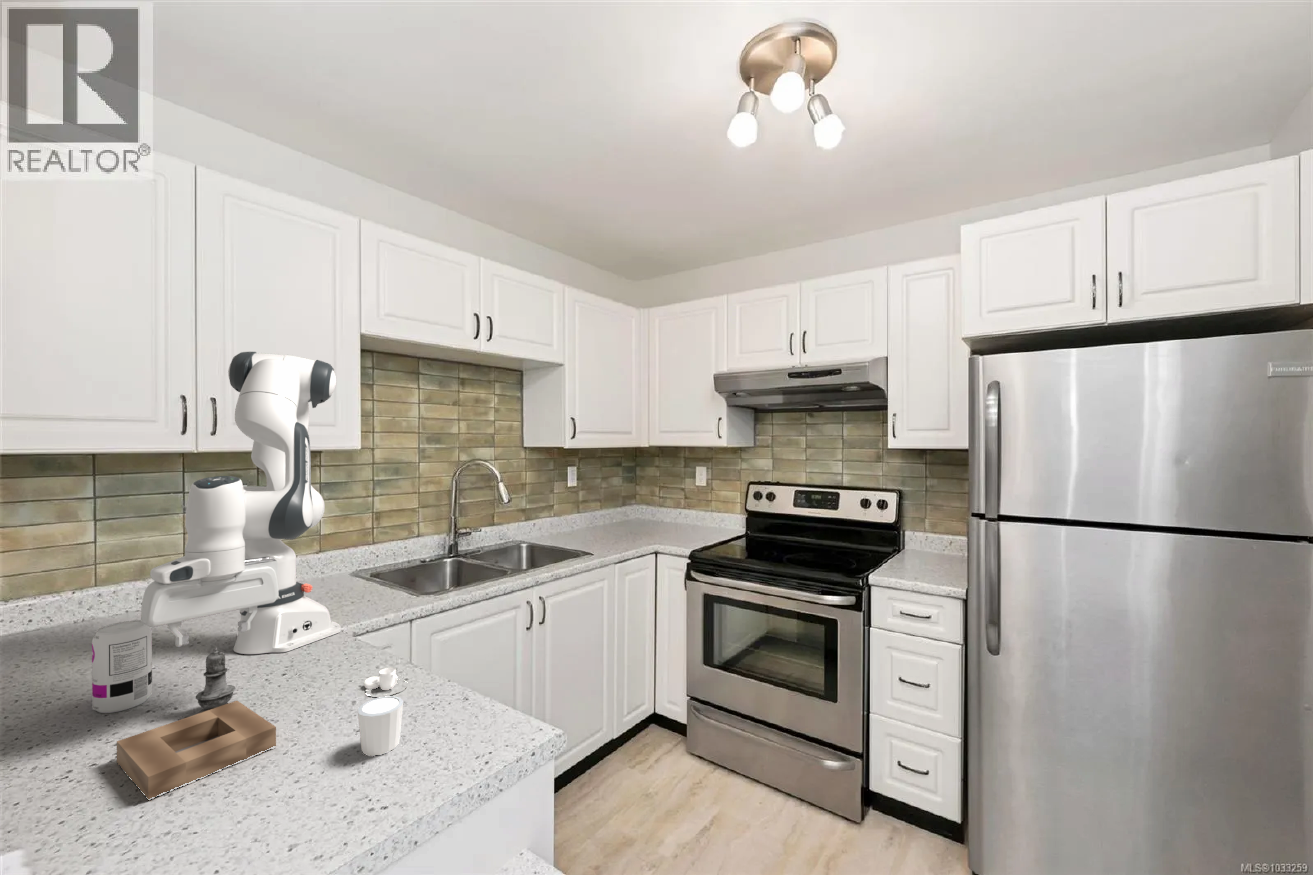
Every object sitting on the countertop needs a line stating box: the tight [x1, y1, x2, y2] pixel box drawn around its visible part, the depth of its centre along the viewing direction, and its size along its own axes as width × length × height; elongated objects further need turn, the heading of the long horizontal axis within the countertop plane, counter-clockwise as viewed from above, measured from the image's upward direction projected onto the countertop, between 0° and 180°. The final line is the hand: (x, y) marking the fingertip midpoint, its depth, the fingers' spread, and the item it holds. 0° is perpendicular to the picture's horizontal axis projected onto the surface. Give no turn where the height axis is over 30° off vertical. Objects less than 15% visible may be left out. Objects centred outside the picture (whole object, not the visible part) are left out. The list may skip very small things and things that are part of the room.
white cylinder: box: [357, 695, 404, 755], centre depth 92 cm, size 7×7×7 cm
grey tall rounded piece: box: [195, 647, 236, 714], centre depth 103 cm, size 6×6×12 cm
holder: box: [116, 700, 277, 799], centre depth 89 cm, size 16×16×4 cm
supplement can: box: [91, 619, 153, 714], centre depth 106 cm, size 8×8×15 cm
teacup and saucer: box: [363, 667, 407, 697], centre depth 113 cm, size 9×8×4 cm
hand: (214, 637), depth 103 cm, fingers open, 8 cm apart
